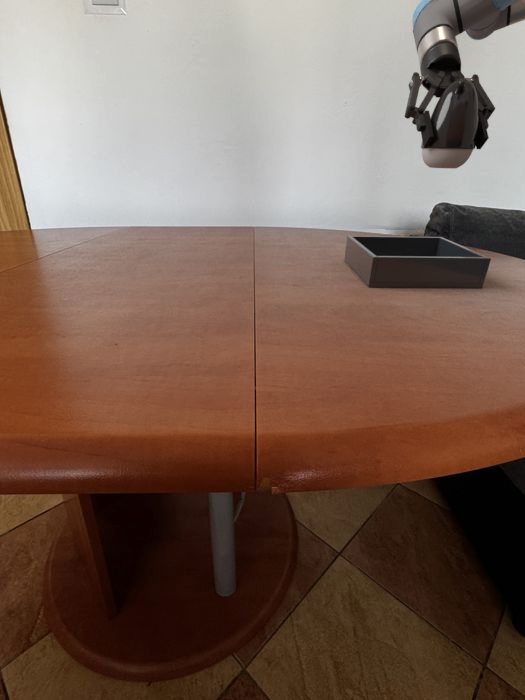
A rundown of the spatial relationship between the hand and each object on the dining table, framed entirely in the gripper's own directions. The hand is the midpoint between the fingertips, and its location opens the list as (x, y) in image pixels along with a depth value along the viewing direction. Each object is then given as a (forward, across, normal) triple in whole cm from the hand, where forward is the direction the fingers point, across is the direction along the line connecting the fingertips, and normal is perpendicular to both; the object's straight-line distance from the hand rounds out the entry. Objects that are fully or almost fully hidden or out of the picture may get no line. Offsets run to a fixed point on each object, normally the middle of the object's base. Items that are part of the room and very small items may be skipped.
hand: (455, 143), depth 73 cm
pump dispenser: (+1, 0, -5) cm, 6 cm away
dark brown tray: (+27, +12, -3) cm, 30 cm away
